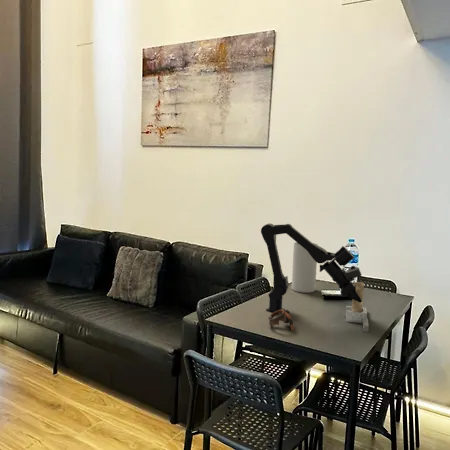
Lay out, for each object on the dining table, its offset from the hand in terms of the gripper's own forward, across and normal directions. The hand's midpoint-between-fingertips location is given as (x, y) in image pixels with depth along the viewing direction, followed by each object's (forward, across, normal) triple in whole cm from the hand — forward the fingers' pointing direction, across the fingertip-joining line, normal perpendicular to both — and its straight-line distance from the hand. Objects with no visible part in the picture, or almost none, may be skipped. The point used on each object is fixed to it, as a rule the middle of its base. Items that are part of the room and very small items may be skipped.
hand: (360, 300), depth 187 cm
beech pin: (+4, 0, +6) cm, 7 cm away
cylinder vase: (-13, +42, +26) cm, 51 cm away
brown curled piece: (-15, -21, +28) cm, 38 cm away
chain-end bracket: (+4, 0, +8) cm, 9 cm away
